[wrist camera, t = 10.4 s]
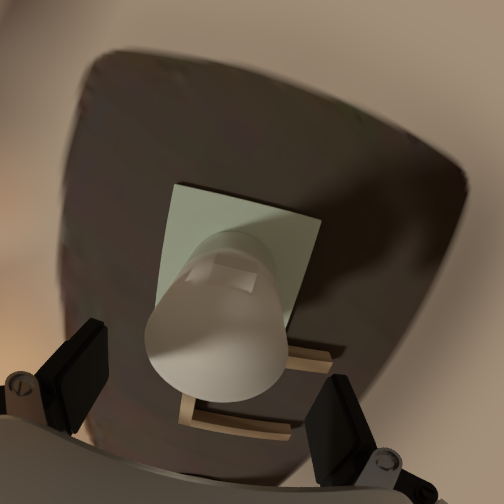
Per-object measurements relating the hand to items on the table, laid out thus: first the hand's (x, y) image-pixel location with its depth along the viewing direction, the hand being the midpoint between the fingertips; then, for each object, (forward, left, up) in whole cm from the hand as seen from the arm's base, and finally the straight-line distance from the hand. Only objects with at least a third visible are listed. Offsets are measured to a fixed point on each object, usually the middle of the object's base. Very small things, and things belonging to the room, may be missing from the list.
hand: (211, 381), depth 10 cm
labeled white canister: (+1, 0, -10) cm, 10 cm away
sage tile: (+1, 0, -10) cm, 10 cm away
